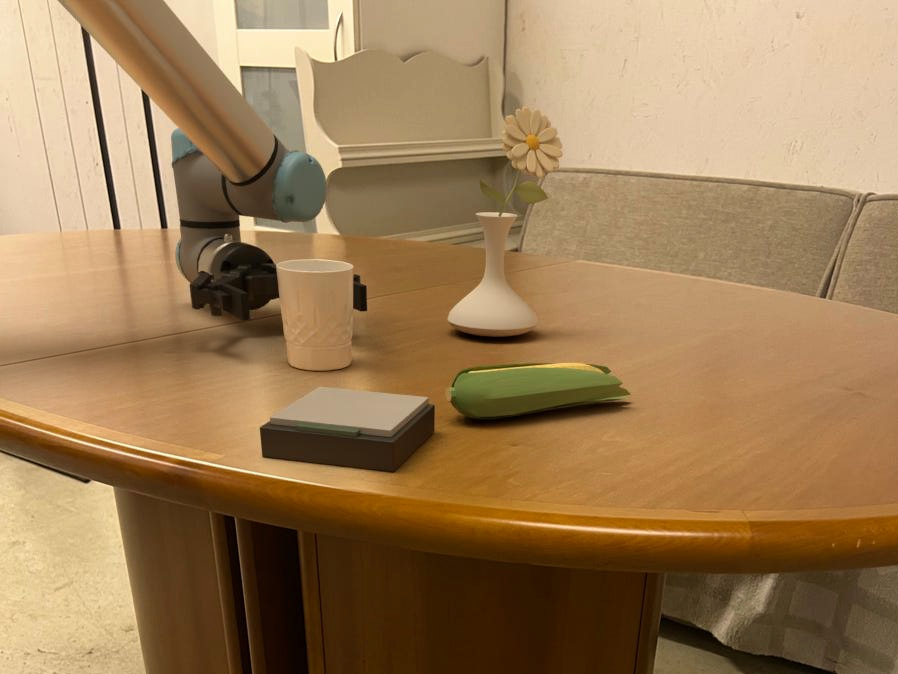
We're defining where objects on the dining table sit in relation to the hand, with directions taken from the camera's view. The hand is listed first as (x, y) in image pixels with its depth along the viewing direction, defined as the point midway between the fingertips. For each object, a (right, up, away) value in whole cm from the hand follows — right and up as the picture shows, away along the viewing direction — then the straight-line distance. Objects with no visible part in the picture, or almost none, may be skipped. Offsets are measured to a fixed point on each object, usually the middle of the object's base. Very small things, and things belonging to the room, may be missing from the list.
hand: (306, 302), depth 99 cm
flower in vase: (+21, +2, +17) cm, 27 cm away
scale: (+8, -20, -23) cm, 31 cm away
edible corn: (+25, -15, -13) cm, 31 cm away
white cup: (+1, -6, +1) cm, 7 cm away
